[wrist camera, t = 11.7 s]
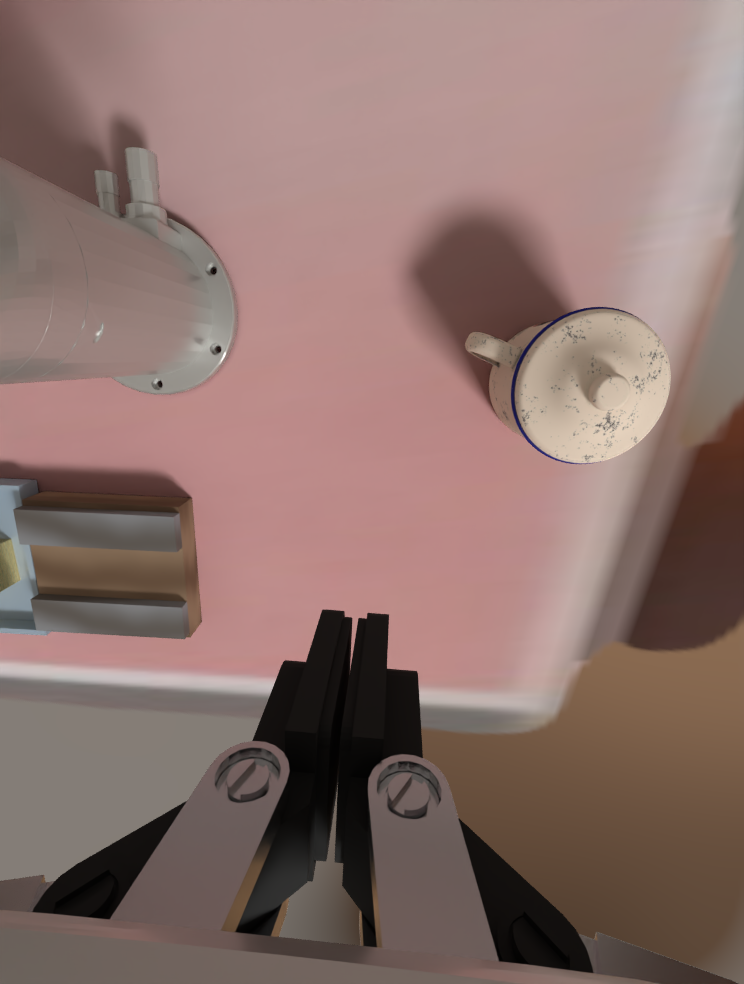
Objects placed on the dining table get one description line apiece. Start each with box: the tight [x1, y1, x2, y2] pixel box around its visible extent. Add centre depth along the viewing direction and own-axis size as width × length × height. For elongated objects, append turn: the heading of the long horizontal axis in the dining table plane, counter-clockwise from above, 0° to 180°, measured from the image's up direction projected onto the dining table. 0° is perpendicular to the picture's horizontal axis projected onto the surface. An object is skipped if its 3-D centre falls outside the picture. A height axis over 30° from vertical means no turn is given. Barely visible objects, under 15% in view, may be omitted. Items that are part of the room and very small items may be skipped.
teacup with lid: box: [465, 307, 671, 464], centre depth 30 cm, size 12×9×12 cm
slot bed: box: [13, 491, 202, 639], centre depth 40 cm, size 12×13×4 cm
